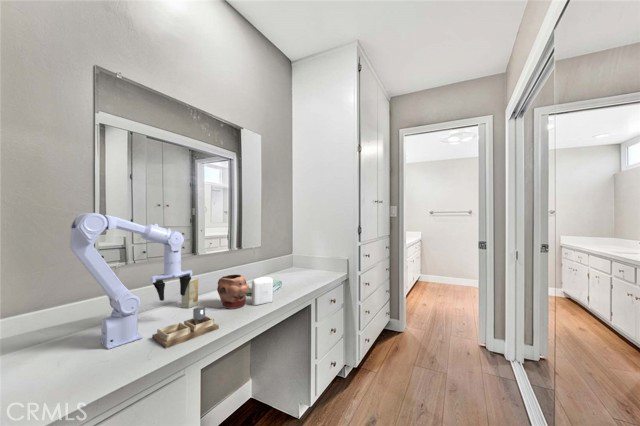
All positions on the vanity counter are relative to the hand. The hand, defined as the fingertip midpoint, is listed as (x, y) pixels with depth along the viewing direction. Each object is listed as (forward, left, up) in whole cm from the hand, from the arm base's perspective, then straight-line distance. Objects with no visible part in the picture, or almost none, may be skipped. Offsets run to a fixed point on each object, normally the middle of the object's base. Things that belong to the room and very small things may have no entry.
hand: (172, 297), depth 99 cm
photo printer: (+38, -8, -11) cm, 40 cm away
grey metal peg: (+4, -12, -9) cm, 16 cm away
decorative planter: (+27, +1, -11) cm, 29 cm away
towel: (+51, +9, -11) cm, 53 cm away
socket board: (0, -12, -10) cm, 16 cm away
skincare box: (+15, +16, -11) cm, 24 cm away
